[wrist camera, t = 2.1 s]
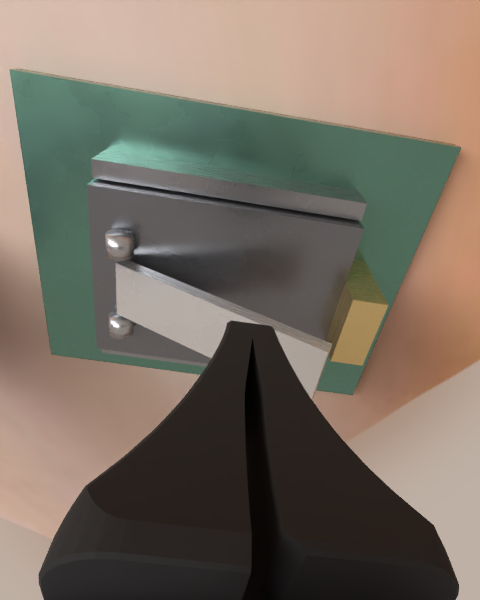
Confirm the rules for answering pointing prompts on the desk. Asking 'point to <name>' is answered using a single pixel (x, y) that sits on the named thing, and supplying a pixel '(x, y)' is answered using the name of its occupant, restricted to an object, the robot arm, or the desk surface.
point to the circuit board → (218, 216)
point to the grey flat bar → (206, 319)
